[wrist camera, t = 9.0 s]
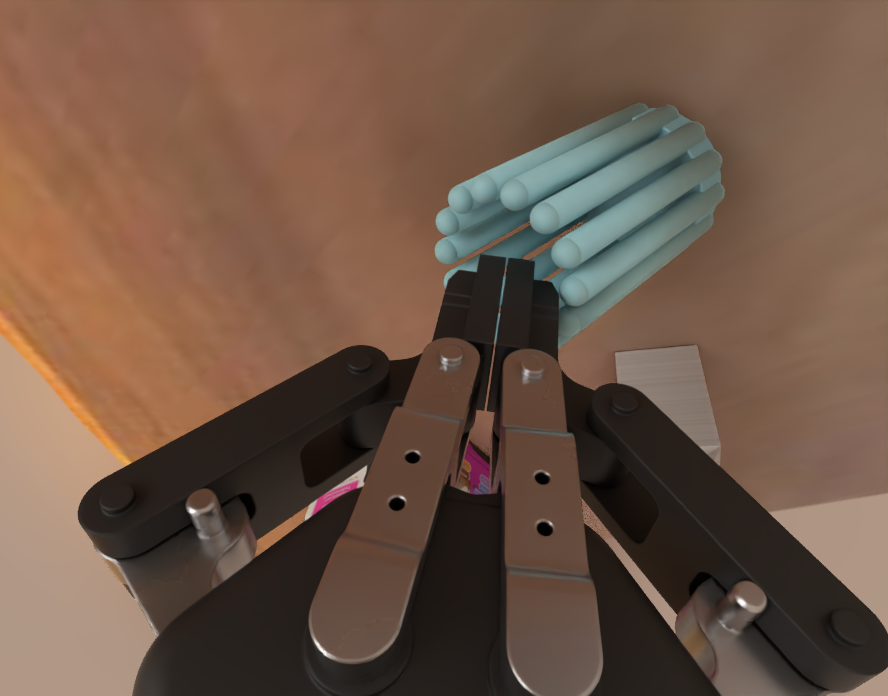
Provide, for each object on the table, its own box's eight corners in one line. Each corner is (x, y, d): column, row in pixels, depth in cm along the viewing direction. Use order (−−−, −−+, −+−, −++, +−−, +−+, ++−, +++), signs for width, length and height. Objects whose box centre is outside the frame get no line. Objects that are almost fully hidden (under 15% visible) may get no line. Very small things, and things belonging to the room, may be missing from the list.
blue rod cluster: (427, 306, 19) (556, 392, 17) (432, 149, 16) (598, 227, 13) (576, 218, 24) (695, 274, 21) (606, 80, 20) (755, 128, 18)
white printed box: (696, 344, 27) (742, 540, 20) (696, 437, 31) (735, 626, 24) (614, 352, 28) (630, 540, 21) (625, 440, 32) (641, 622, 25)
